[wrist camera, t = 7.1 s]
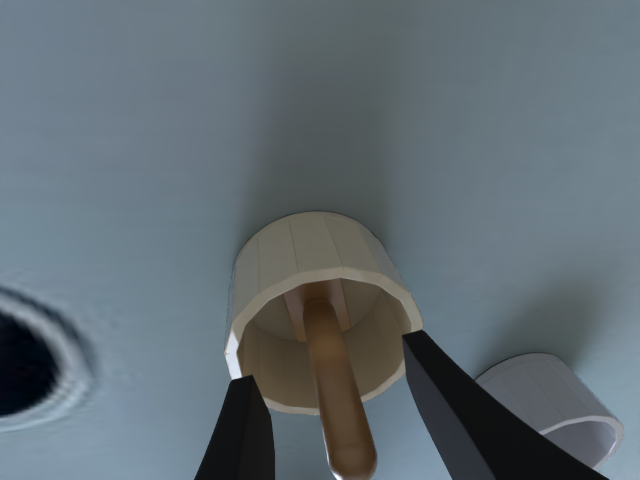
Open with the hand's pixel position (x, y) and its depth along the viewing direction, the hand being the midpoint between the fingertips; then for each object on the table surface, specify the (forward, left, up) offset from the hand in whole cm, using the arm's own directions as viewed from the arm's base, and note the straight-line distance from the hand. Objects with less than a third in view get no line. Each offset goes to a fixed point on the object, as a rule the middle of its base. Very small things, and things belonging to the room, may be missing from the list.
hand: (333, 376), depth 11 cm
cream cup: (0, 0, -5) cm, 5 cm away
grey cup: (-5, -14, -5) cm, 16 cm away
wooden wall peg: (0, 0, -4) cm, 4 cm away
